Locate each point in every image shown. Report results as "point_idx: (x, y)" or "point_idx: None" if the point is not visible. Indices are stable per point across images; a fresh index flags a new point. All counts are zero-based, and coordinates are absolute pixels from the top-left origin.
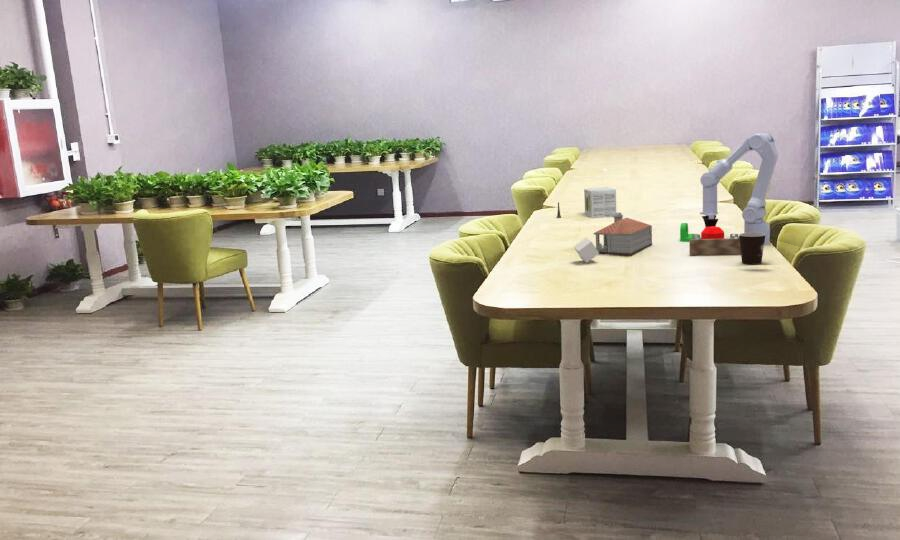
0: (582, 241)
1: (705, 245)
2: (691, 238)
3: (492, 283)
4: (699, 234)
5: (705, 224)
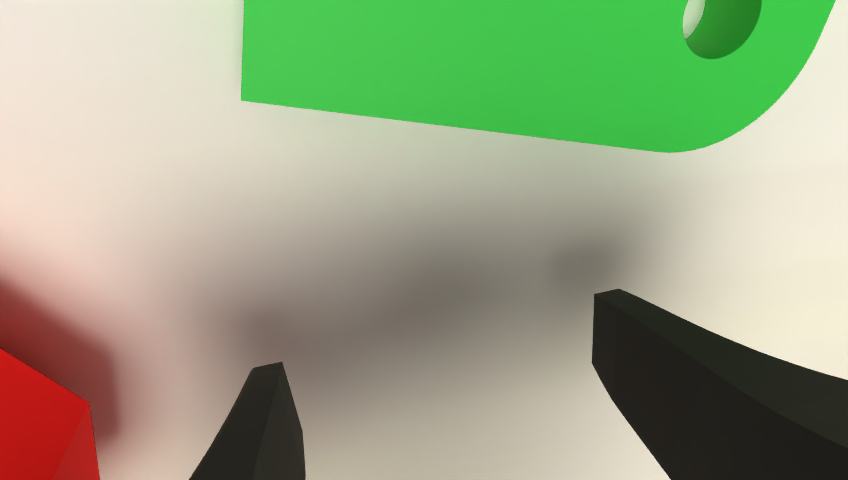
0: None
1: None
2: (244, 20)
3: None
4: (717, 139)
5: (707, 377)
